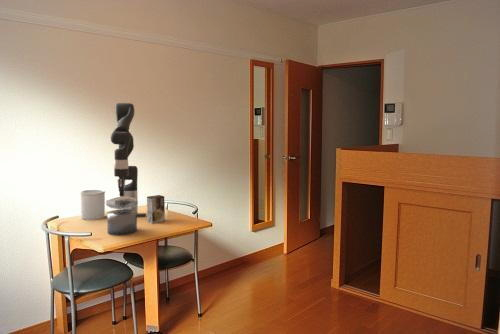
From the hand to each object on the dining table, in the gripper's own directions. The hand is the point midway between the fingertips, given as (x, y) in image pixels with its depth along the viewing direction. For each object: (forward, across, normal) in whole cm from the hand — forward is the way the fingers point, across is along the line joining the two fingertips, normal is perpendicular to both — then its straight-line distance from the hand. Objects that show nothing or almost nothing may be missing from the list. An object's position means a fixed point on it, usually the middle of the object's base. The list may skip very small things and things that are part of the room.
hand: (121, 198), depth 219 cm
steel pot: (+19, -2, +3) cm, 19 cm away
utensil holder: (+19, -40, -20) cm, 48 cm away
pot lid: (+4, -3, 0) cm, 5 cm away
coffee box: (+19, -22, +19) cm, 35 cm away
